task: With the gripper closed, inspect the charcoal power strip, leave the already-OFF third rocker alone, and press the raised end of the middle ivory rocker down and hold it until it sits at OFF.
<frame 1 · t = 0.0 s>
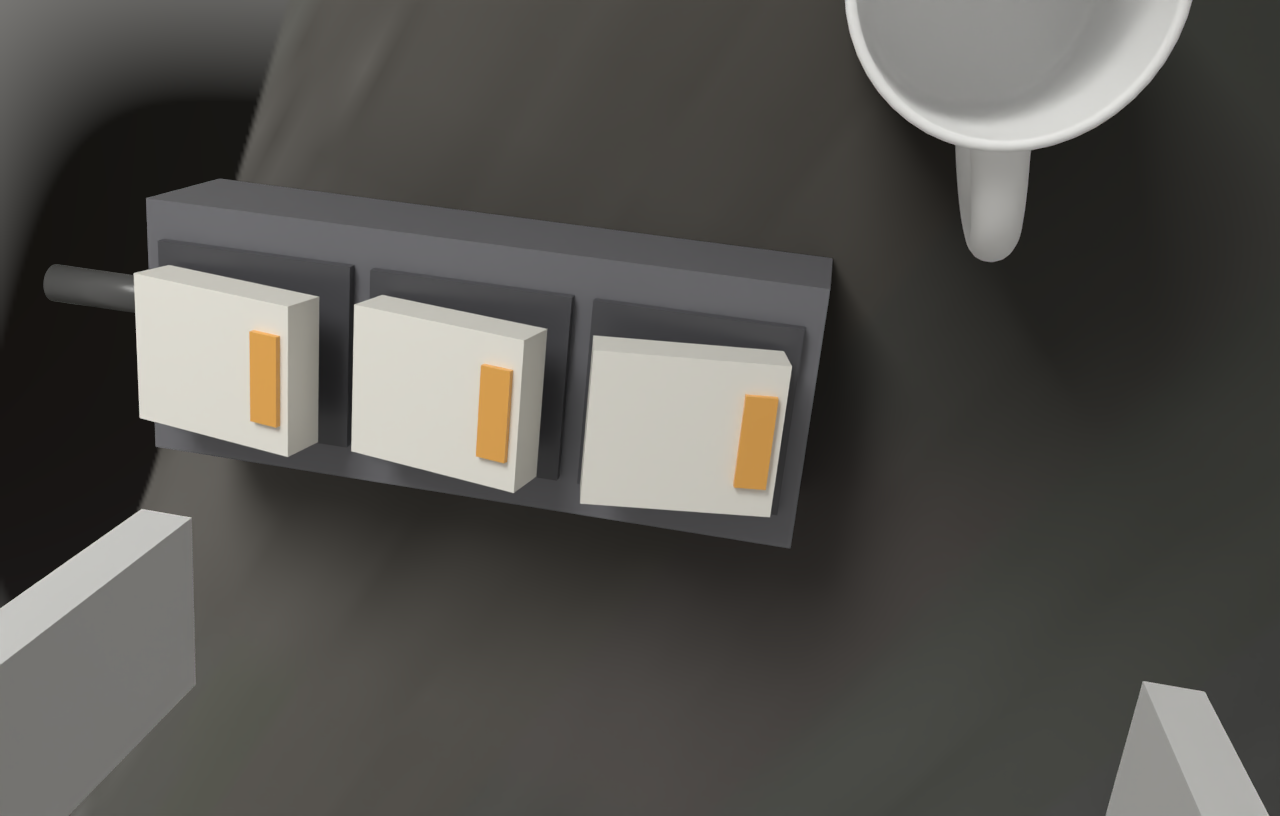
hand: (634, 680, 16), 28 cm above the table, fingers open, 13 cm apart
rocker 2: (445, 392, 38), point 7 cm above the table, hinge at 12.0°
rocker 1: (225, 359, 39), point 7 cm above the table, hinge at 12.0°
mug: (973, 47, 39), on the table
power strip: (508, 335, 45), on the table
rocker 3: (682, 428, 37), point 7 cm above the table, hinge at -12.0°
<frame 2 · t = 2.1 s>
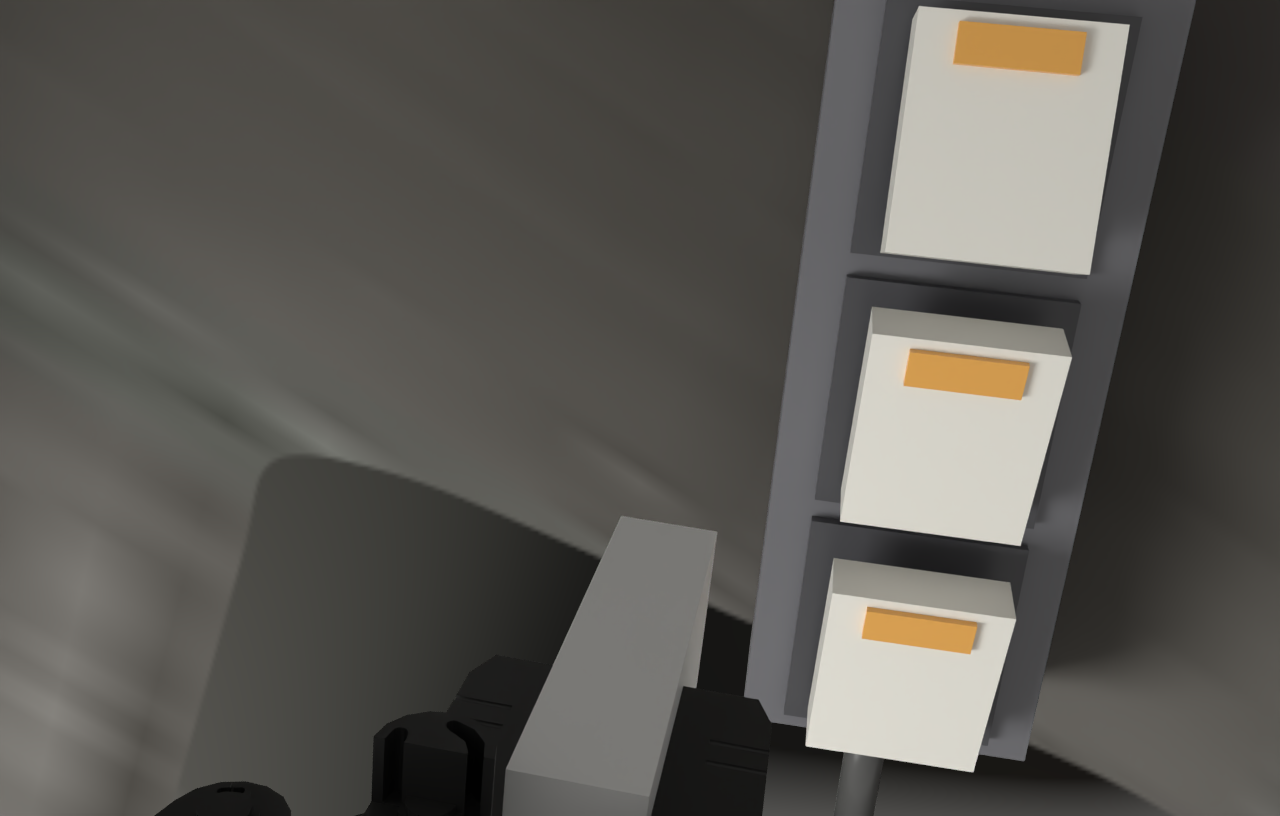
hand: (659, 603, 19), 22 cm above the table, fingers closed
rocker 2: (947, 430, 33), point 7 cm above the table, hinge at 12.0°
rocker 1: (904, 669, 35), point 7 cm above the table, hinge at 12.0°
power strip: (927, 354, 39), on the table
rocker 3: (999, 143, 30), point 7 cm above the table, hinge at -12.0°
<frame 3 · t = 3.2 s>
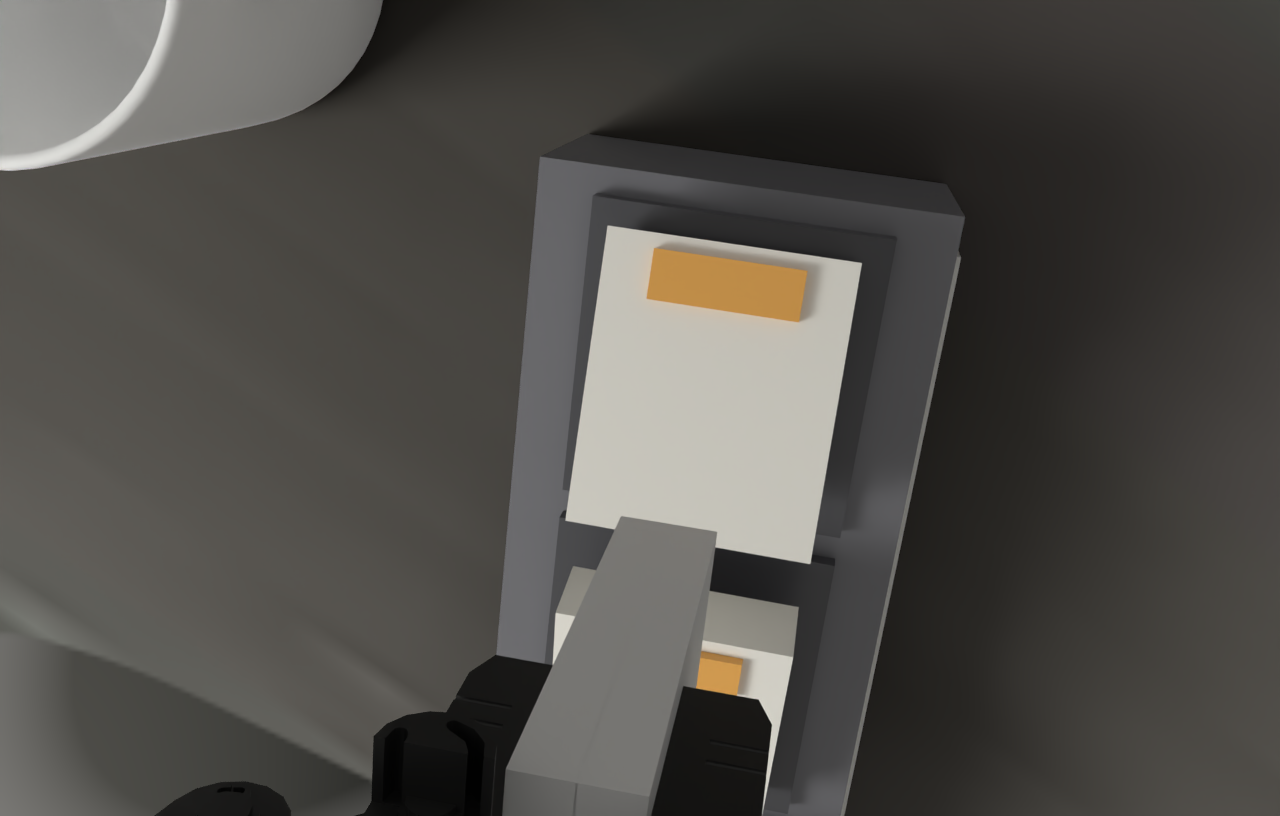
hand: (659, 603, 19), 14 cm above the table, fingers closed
rocker 2: (665, 714, 27), point 7 cm above the table, hinge at 12.0°
power strip: (702, 570, 34), on the table
rocker 3: (712, 392, 24), point 7 cm above the table, hinge at -12.0°
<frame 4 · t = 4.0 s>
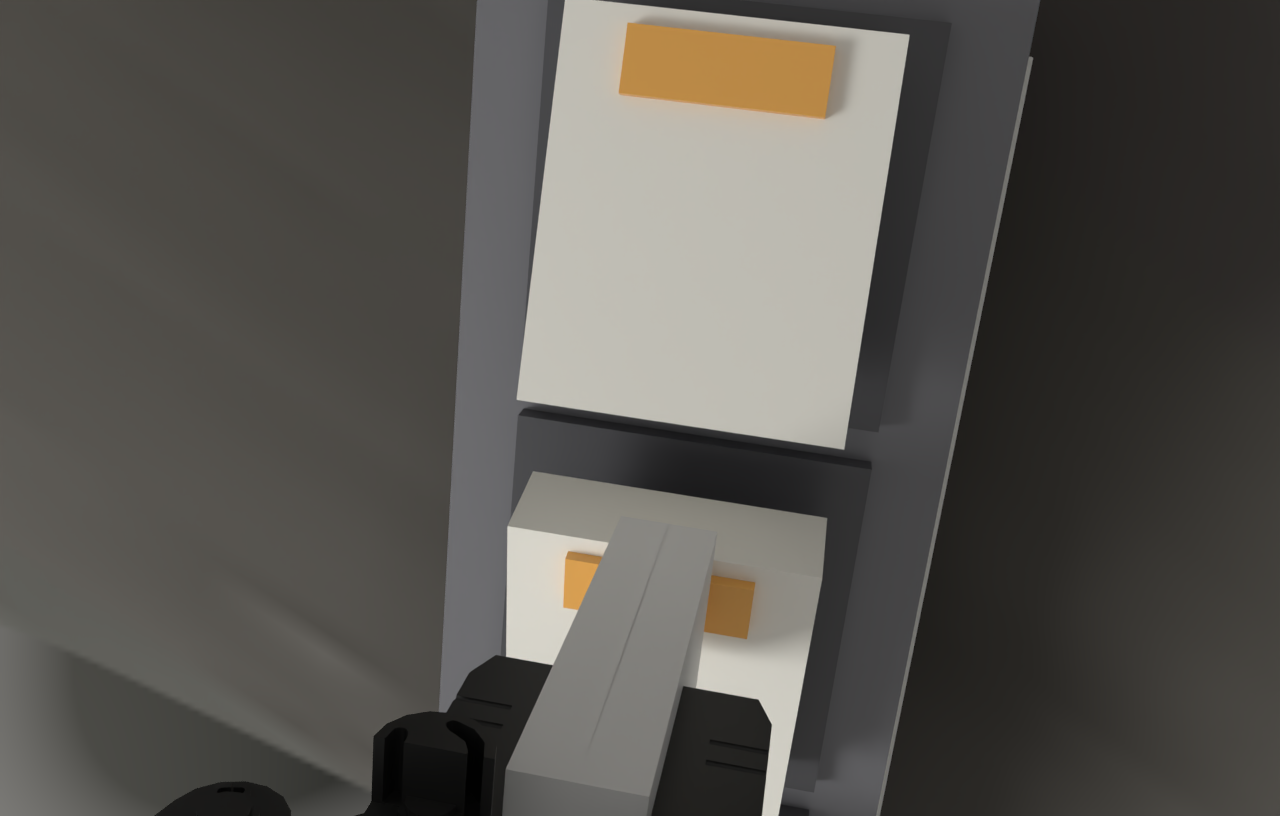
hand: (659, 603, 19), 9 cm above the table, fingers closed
rocker 2: (655, 663, 21), point 7 cm above the table, hinge at 12.0°, touching gripper
power strip: (703, 499, 28), on the table
rocker 3: (709, 226, 18), point 7 cm above the table, hinge at -12.0°
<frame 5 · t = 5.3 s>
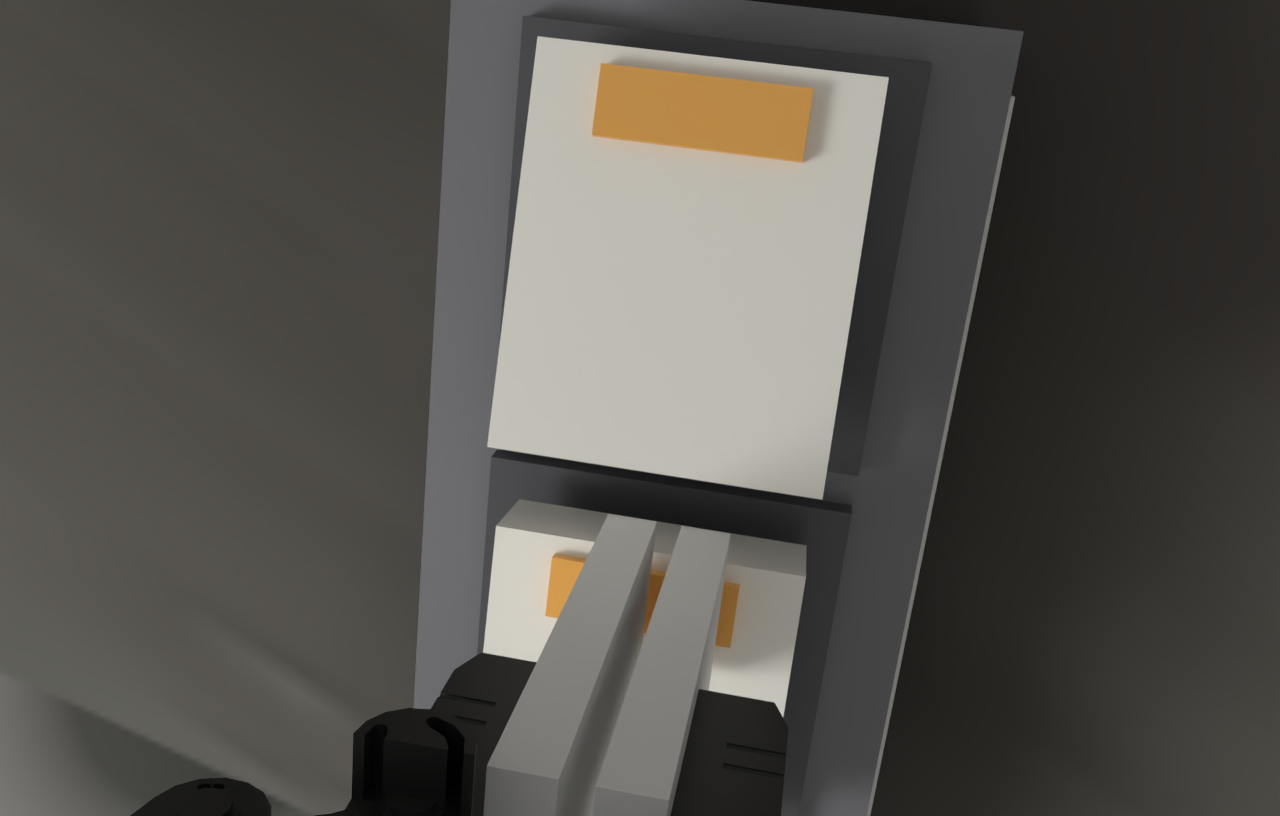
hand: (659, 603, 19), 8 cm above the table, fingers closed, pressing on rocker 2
rocker 2: (632, 705, 20), point 7 cm above the table, hinge at -6.4°, touching gripper
power strip: (682, 536, 27), on the table
rocker 3: (684, 269, 18), point 7 cm above the table, hinge at -12.0°
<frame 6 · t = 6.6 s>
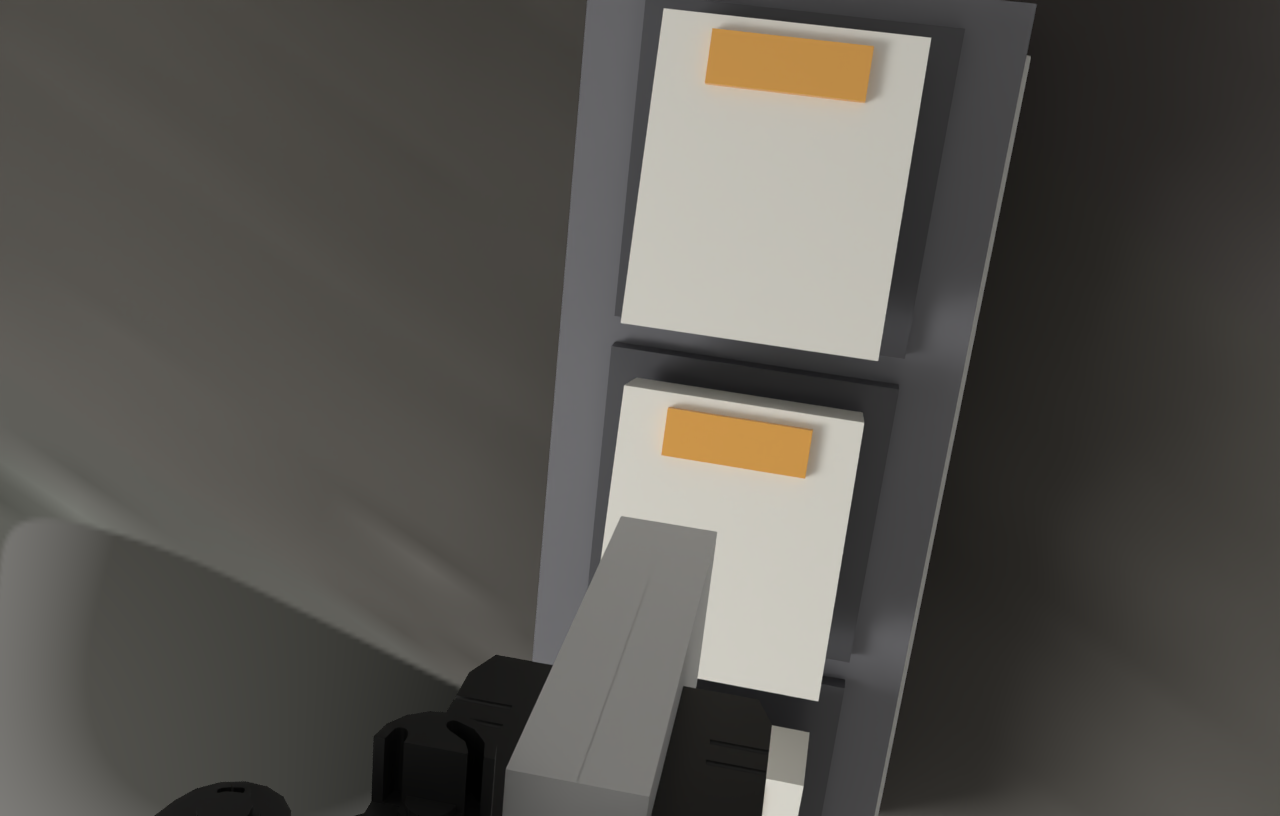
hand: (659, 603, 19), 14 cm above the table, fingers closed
rocker 2: (724, 536, 26), point 7 cm above the table, hinge at -10.6°
power strip: (755, 431, 33), on the table
rocker 3: (772, 187, 23), point 7 cm above the table, hinge at -12.0°
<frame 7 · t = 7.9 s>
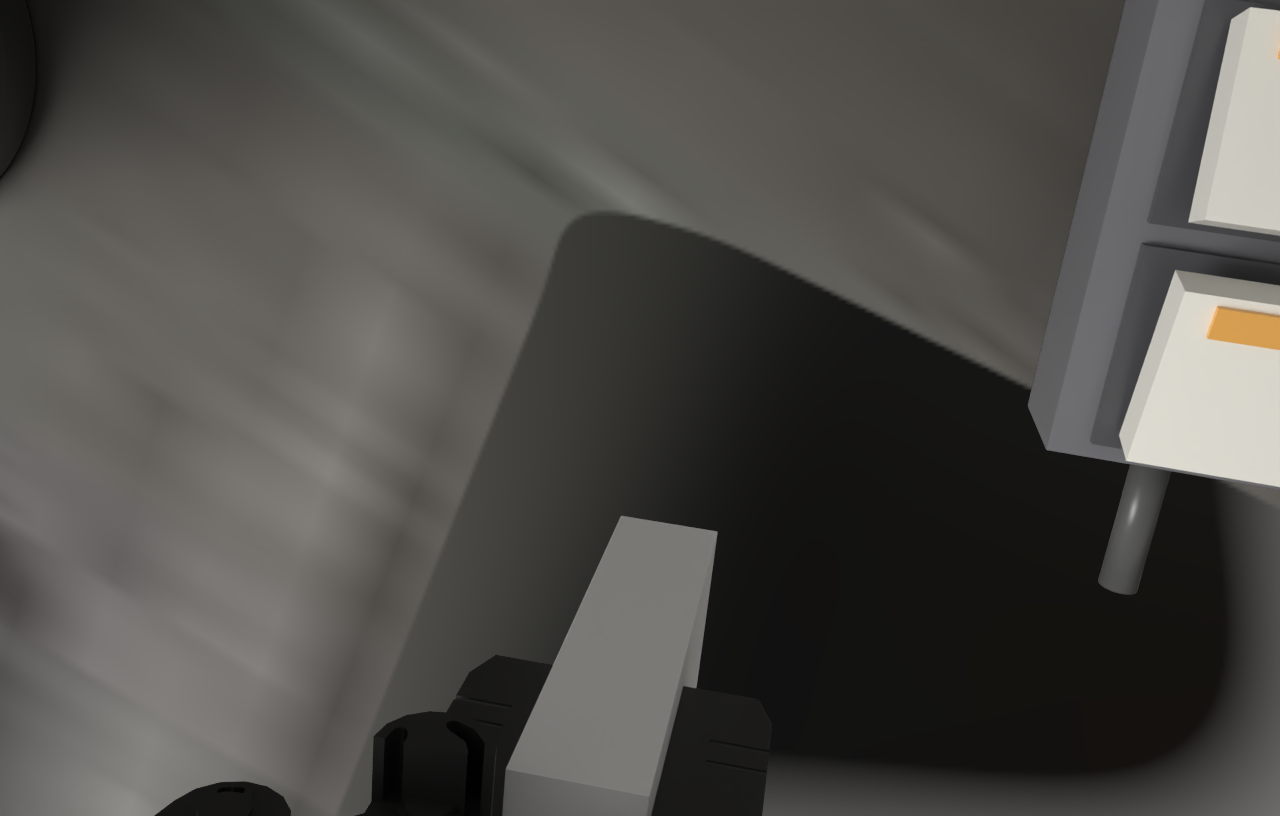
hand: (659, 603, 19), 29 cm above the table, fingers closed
rocker 1: (1234, 382, 37), point 7 cm above the table, hinge at 12.0°
power strip: (1236, 115, 41), on the table
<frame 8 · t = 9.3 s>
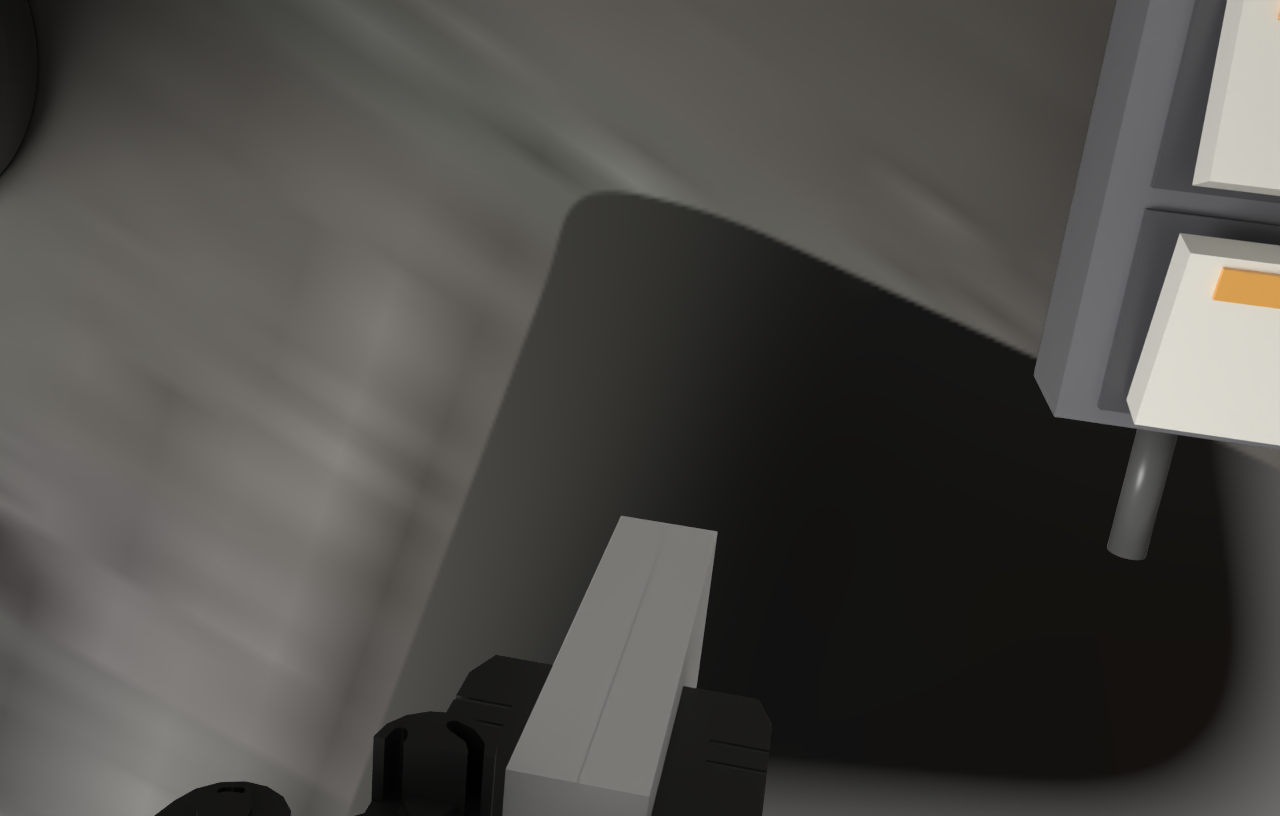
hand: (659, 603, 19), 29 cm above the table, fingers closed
rocker 1: (1240, 343, 37), point 7 cm above the table, hinge at 12.0°
power strip: (1235, 80, 42), on the table
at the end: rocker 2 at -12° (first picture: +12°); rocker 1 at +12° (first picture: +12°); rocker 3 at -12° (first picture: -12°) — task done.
